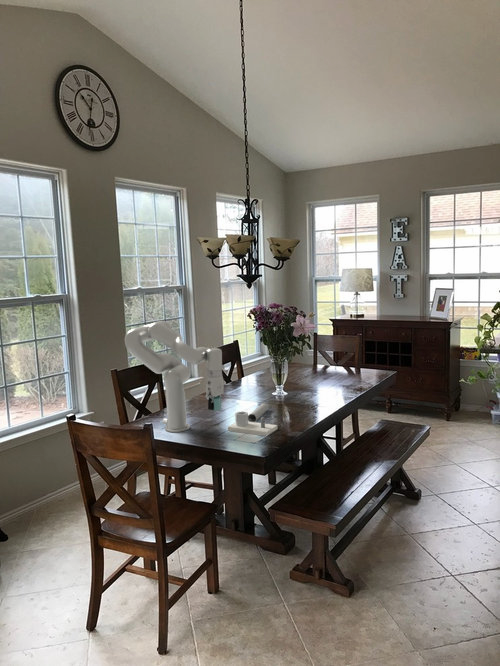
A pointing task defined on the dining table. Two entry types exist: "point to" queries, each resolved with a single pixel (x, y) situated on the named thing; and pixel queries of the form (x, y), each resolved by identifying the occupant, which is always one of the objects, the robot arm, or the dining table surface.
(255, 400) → the dining table surface
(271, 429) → the pin board
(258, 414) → the tube
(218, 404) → the sleeve teal
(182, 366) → the robot arm
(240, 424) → the sleeve grey
